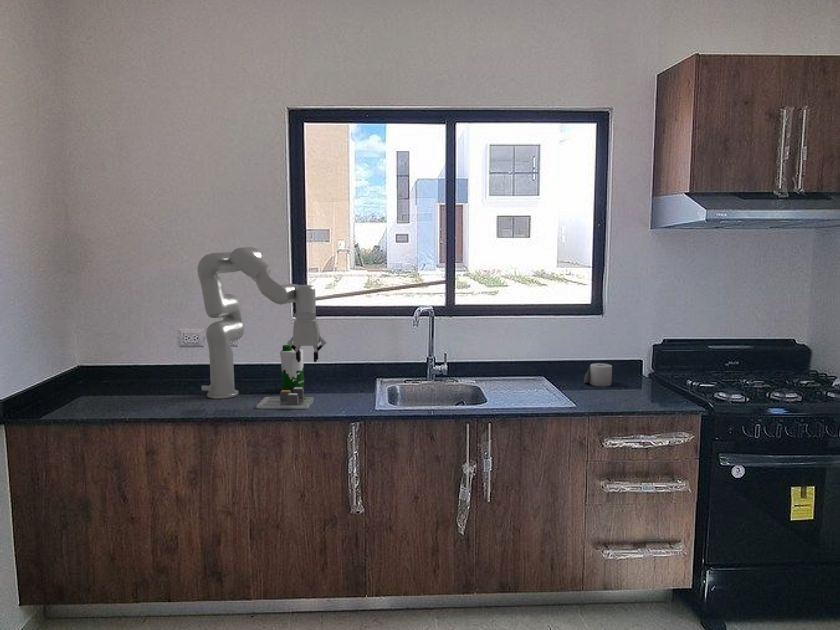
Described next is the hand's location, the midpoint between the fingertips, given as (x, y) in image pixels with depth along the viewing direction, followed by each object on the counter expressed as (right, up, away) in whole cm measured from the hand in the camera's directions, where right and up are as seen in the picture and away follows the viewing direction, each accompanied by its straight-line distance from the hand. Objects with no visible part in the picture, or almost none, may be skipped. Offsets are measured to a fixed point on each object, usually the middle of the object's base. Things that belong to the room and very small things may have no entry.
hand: (307, 361), depth 248 cm
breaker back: (-5, -15, +7) cm, 18 cm away
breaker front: (-5, -17, -3) cm, 18 cm away
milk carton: (-10, -15, +24) cm, 30 cm away
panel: (-9, -17, +2) cm, 20 cm away
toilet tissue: (+125, -13, +36) cm, 131 cm away
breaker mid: (-9, -16, +2) cm, 18 cm away
